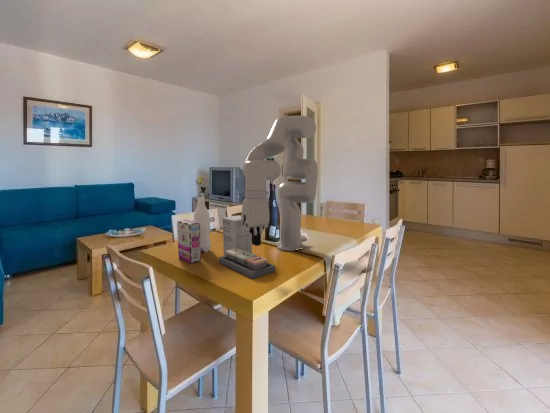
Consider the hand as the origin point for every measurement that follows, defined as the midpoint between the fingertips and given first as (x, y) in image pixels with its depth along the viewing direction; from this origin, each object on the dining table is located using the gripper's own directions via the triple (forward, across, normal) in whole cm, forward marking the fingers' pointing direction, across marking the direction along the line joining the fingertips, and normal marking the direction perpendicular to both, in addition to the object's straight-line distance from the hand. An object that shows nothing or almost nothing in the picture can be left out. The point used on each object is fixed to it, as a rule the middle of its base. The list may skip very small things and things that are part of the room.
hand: (256, 244), depth 111 cm
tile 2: (+8, 0, -7) cm, 11 cm away
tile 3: (+8, 0, 0) cm, 8 cm away
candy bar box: (+11, +12, -31) cm, 35 cm away
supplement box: (+11, -7, -23) cm, 27 cm away
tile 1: (+8, 0, -14) cm, 16 cm away
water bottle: (+11, +2, -38) cm, 40 cm away
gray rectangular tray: (+11, 0, -7) cm, 13 cm away
